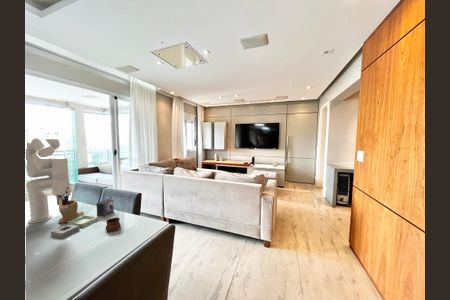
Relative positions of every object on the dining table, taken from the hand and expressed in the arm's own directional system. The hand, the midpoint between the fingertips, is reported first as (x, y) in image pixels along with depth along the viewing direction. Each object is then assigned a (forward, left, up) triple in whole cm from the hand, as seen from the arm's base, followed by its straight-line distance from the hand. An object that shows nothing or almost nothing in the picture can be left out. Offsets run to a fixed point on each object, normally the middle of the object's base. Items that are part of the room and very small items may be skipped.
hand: (63, 204), depth 115 cm
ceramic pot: (+27, +12, -20) cm, 35 cm away
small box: (-2, +30, -19) cm, 36 cm away
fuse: (0, 0, -4) cm, 4 cm away
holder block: (0, 0, -19) cm, 19 cm away
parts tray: (-4, +14, -19) cm, 24 cm away
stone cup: (-17, +15, -19) cm, 30 cm away
